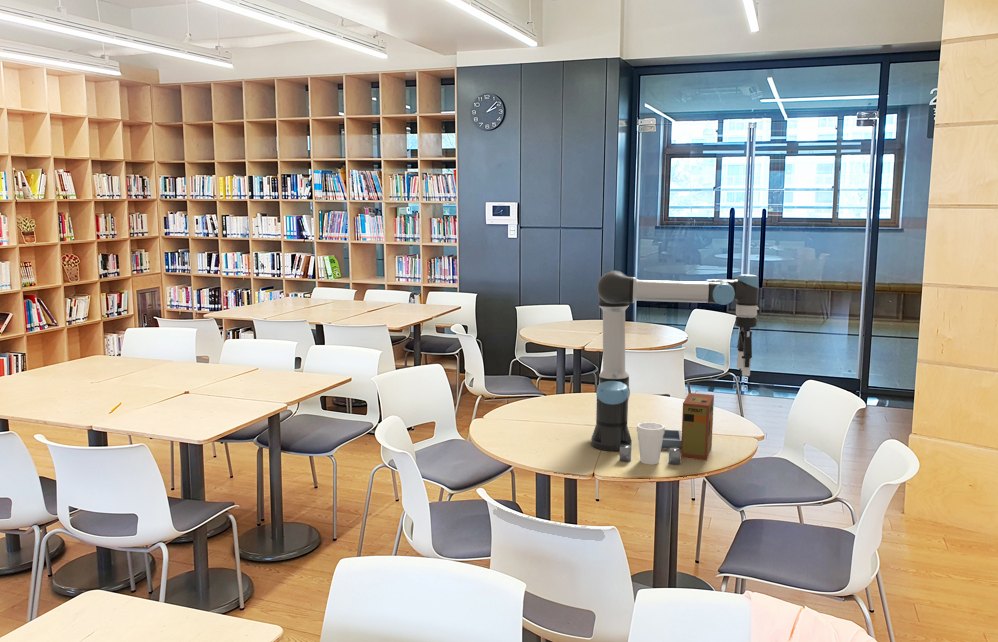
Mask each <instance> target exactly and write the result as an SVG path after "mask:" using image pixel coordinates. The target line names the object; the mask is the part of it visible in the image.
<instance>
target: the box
mask: <svg viewBox="0 0 998 642" xmlns="http://www.w3.org/2000/svg"><path fill="white" fill-rule="evenodd" d="M714 401H715V395H714V394H706V393H695V392H689V393H688V394H687V396H686V397H685V399H684V401H683V402H682V414H681V415H682V416H681V417H682V421H681V423H682V424H681V436H682V441H681V456H680V459H681V458H683V459H691V460H698V461H699V460H700V461H708V458H709V456H710V454H711V450H712V445H713V444H712V443H713V428H714V427H713V425H714V405H715V402H714Z"/></svg>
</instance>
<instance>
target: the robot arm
mask: <svg viewBox="0 0 998 642" xmlns="http://www.w3.org/2000/svg"><path fill="white" fill-rule="evenodd" d="M736 278H737V279H716V278H712V279H705V280H704V281H688V280H687V281H686V280H685V281H683V280H680V281H679V280H653V279H652V280H649V279H638V278H636V276H627V275H626V274H625V273H624V272H623V271H622V272H621V271H620V270H616V269H615V270H609V271H607V272H605V273H603V274H602V275H601V277H600V279H598V283H597V286H596V290H597V295H598V307H599V308H600V309H601V310H602V371H601V372H599V375H598V385H597V388H596V392H595V393H596V411H595V412H596V414H595V415H596V418H595V419H596V420H595V421H596V422H595V423H596V424H595V427H594V429H593V432H592V435H591V438H590V445H591V446H592V447H593V448H595V449H597V450H601V451H607V452H609V451H610V452H620V446H621V445H629V446H631V447H632V436H631V434H630V430H629V427H628V419H629V418H628V416H629V414H628V412H629V401H630V400H629V399H630V395H631V389H630V375H629V373H628V372H627V371H626V310H627V309H628V307H629V306H630V304H635V302H637V301H638V302H639V301H643V302H668V303H701V304H702V303H705V304H706V303H707V304H718V305H721V306H723V305H725V306H726V305H728V304H730V303H731V302H733V301H736V303H735V305H736V306H735V315H736V316H735V326H736V327H738V328H739V329H738V330H739V331H738V339H737V346H736V349H737V358H736V368H737V369H741V376H742V377H750V375H751V362H752V358H753V345H752V344H753V343H752V342H753V341H752V340H753V339H752V335H753V331H751V328H756V327H757V321H758V318H757V316H758V311H759V310H760V308H759V307H758V304H759V288H760V286H759V285H760V284H759V282H760V281H759V279H760V278H759V276H757V275H756V274H744V273H743V274H738V276H737V277H736Z"/></svg>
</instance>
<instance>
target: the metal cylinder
mask: <svg viewBox="0 0 998 642" xmlns="http://www.w3.org/2000/svg"><path fill="white" fill-rule="evenodd" d="M619 461H620V462H622V463H630V462H632V446H629V445H621V446H620V451H619Z"/></svg>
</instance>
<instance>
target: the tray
mask: <svg viewBox="0 0 998 642" xmlns="http://www.w3.org/2000/svg"><path fill="white" fill-rule="evenodd" d="M681 441H682V430H680V429H665V432H664V435H663V441H662V447H661V450H669V448H679V449H681Z"/></svg>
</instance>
